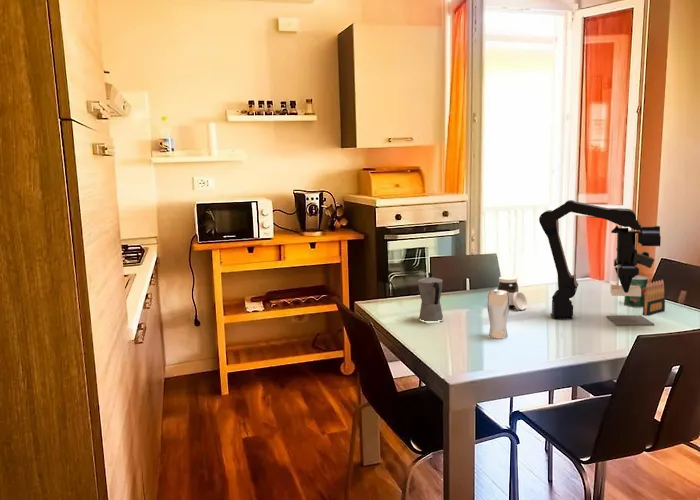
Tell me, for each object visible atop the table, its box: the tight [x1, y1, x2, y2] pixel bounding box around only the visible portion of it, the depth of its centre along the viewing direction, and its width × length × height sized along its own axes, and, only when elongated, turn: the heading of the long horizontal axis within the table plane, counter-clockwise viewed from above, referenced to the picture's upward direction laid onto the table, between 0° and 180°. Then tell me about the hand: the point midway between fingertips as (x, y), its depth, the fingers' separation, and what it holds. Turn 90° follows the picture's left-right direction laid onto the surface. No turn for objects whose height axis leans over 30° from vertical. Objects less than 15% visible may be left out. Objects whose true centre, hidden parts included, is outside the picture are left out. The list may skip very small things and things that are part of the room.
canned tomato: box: [623, 275, 649, 308], centre depth 218 cm, size 8×8×11 cm
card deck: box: [609, 284, 641, 297], centre depth 195 cm, size 6×9×2 cm, turn 69°
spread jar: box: [497, 275, 528, 311], centre depth 222 cm, size 12×11×12 cm
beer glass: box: [486, 289, 510, 340], centre depth 185 cm, size 7×7×15 cm
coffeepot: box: [417, 272, 444, 321], centre depth 206 cm, size 15×9×18 cm, turn 10°
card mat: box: [605, 314, 655, 327], centre depth 198 cm, size 12×11×1 cm
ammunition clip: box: [642, 279, 666, 317], centre depth 206 cm, size 11×2×12 cm, turn 120°
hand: (625, 290), depth 195 cm, fingers closed on card deck, 6 cm apart
